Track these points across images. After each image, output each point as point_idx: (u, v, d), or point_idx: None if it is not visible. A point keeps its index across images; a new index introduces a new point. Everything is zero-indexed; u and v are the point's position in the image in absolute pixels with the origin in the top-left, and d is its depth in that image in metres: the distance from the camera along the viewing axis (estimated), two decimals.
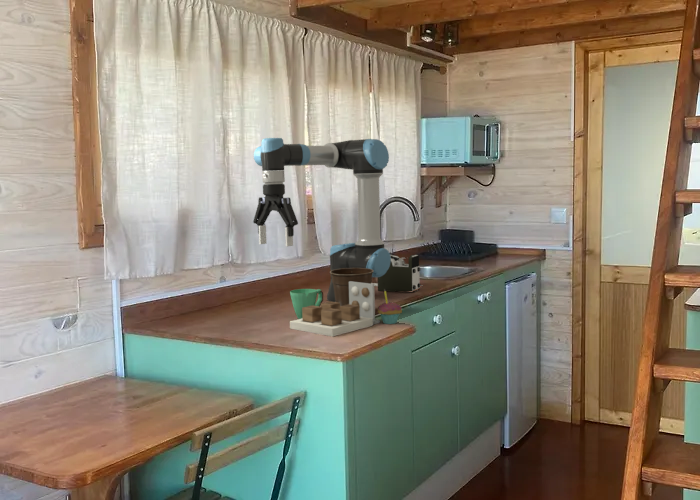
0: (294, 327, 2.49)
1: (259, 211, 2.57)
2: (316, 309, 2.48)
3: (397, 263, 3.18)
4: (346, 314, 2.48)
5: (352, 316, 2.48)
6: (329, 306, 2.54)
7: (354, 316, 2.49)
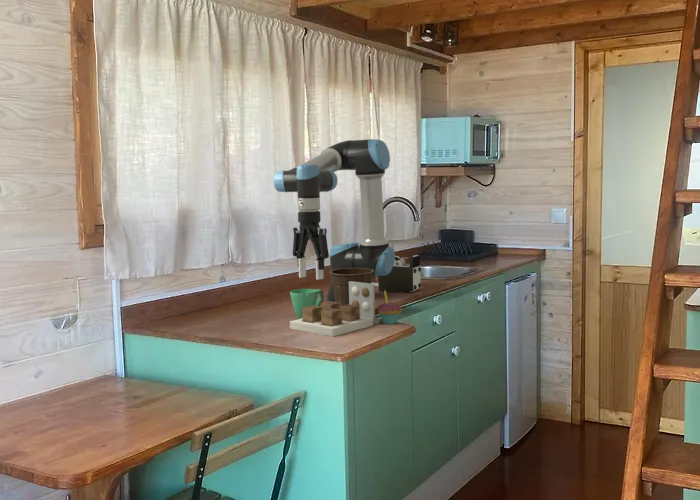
0: (294, 327, 2.49)
1: (296, 242, 2.51)
2: (316, 309, 2.48)
3: (398, 263, 3.18)
4: (346, 314, 2.48)
5: (352, 316, 2.48)
6: (329, 306, 2.54)
7: (354, 316, 2.49)
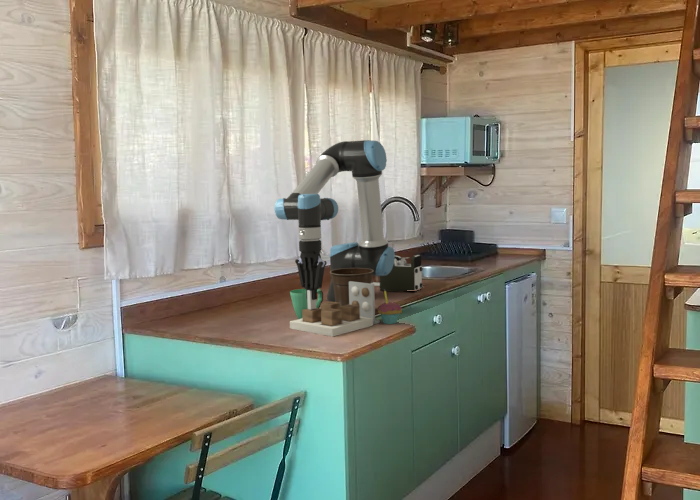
0: (294, 327, 2.49)
1: (301, 272, 2.50)
2: (316, 311, 2.48)
3: (399, 263, 3.18)
4: (346, 314, 2.48)
5: (352, 316, 2.48)
6: (329, 306, 2.54)
7: (354, 316, 2.49)
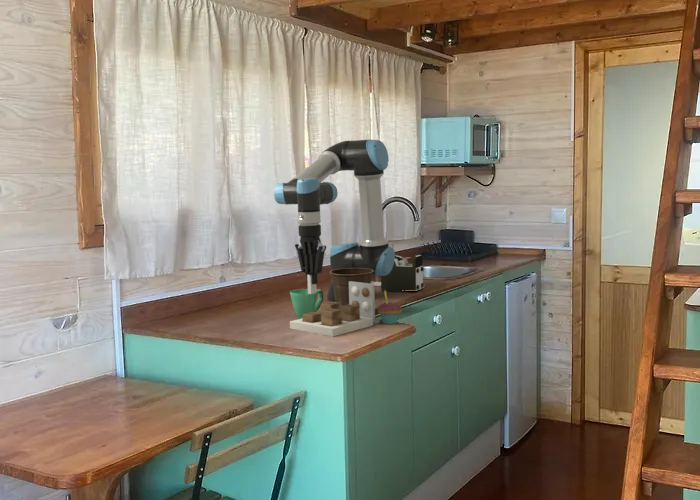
0: (294, 327, 2.49)
1: (301, 257, 2.50)
2: (316, 315, 2.48)
3: (400, 263, 3.18)
4: (346, 314, 2.48)
5: (352, 316, 2.48)
6: (329, 306, 2.54)
7: (354, 316, 2.49)
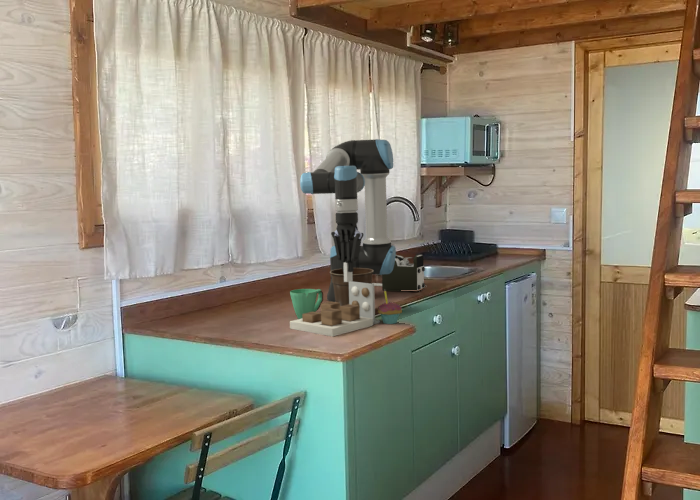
0: (294, 327, 2.49)
1: (338, 245, 2.50)
2: (316, 315, 2.48)
3: (402, 263, 3.18)
4: (346, 314, 2.48)
5: (352, 316, 2.48)
6: (329, 306, 2.54)
7: (354, 316, 2.49)
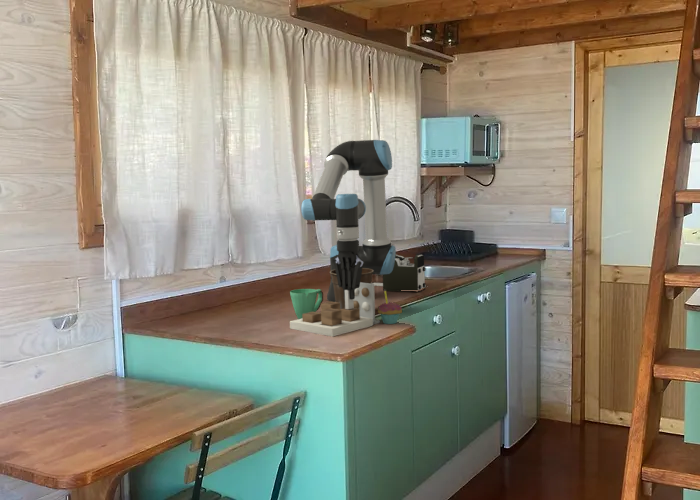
0: (294, 327, 2.49)
1: (339, 272, 2.51)
2: (316, 315, 2.48)
3: (402, 263, 3.18)
4: (346, 317, 2.48)
5: (352, 319, 2.48)
6: (329, 306, 2.54)
7: (354, 319, 2.49)
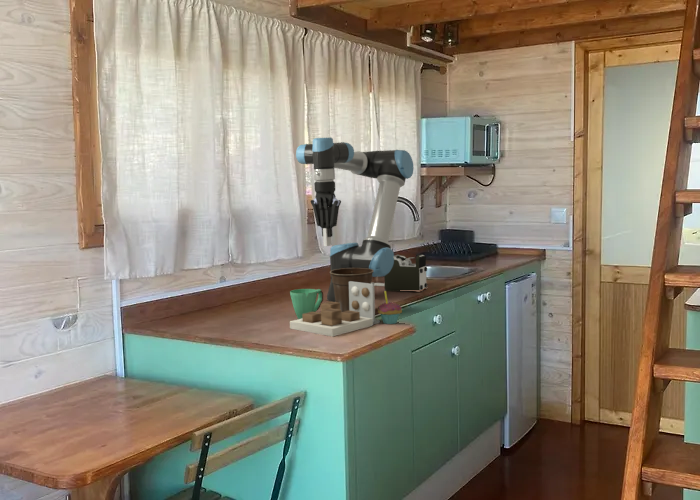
0: (294, 327, 2.49)
1: (317, 212, 2.68)
2: (316, 315, 2.48)
3: (404, 263, 3.18)
4: (346, 320, 2.49)
5: None
6: (329, 306, 2.54)
7: None
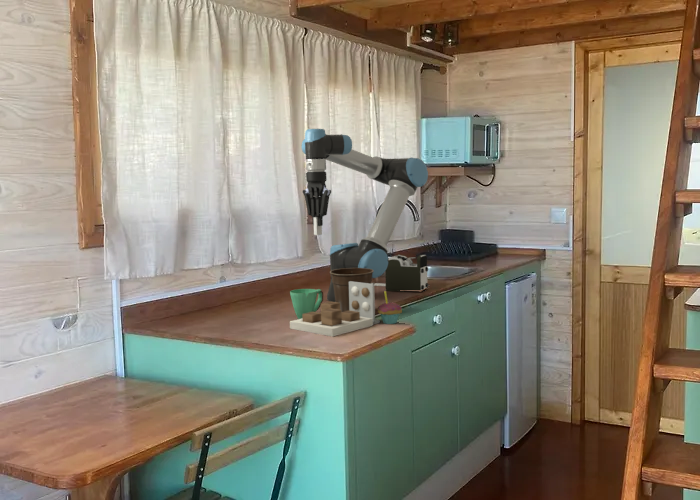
0: (294, 327, 2.49)
1: (308, 201, 2.75)
2: (316, 315, 2.48)
3: (405, 263, 3.18)
4: (346, 320, 2.49)
5: None
6: (329, 306, 2.54)
7: None
